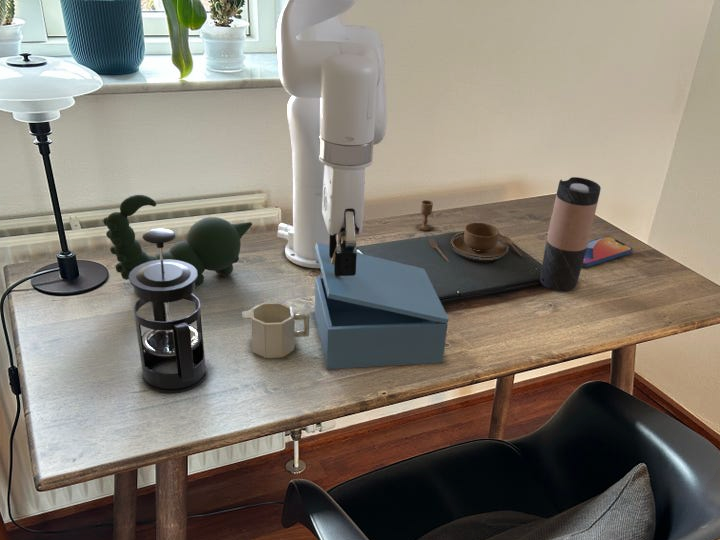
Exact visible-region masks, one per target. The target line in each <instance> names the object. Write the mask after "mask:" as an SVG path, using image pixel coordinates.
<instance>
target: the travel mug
mask: <svg viewBox="0 0 720 540" xmlns="http://www.w3.org/2000/svg"><path fill="white" fill-rule="evenodd" d="M601 189H602V188H601V185H600V184H598V183H597V182H595V181H594V180H591V179H588V178H584V177H577V176H571V177H570V178H569V179H567V180H563V179H560V180H559V181H558V186H557V190H556V195H555V200H554V204H553V209H552V214H551V217H550V223H549V227H548V232H547V236H546V241H545V246H544V252H543V258H542V263H541V270H540V276H539V281H540V284H541V285H542V286H544V287H545V288H547V289H549V290H552V291H556V292H570V291H572V290H574V289H576V287H577V284H578V281H579V278H580V275H581V271H582V268H583V267H582V264H583V260H584V257H585V253H586V250H587V246H588V242H589V241H590V237H591V233H592V230H593V229H592V228H593V224H594V221H595V215H596V211H597V206H598V203H599V199H600V194H601ZM541 274H542V276H543V278H544V281H543V280H542V278H541Z"/></svg>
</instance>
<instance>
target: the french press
mask: <svg viewBox="0 0 720 540" xmlns="http://www.w3.org/2000/svg"><path fill="white" fill-rule="evenodd" d="M176 235H177V234H176V233H175V232H174V231H173V230H171V229H169V228H152V229H150V230H147V231H145V232H144V233H143V234H142V236H141V237H142V239H143V240H144V241H145V242H147V243H149V244H155V245H156V248H157V249H158V250H159V252H158V253H160V260H154V261H150V262H146V263H143V264H141V265H139V266H137V267H135V268H134V269H133V270H132V271H131V272H130V274H129V279H128V281H129V283H130V285H132V287H133V292H134V294H135V295H136V296H137V297H138V299H136V301H135V302H134V304H133V316H134V322H135V328H136V329H135V330H136V335H137V343H138V350H139V357H140V362H141V363H140V364H141V369H142V371H141V380H142V382H143V384H144V385H145V387H147V389H150V390H152V391H154V392H158V393H162V394H180V393H184V392H188V391H191V390H193V389H195V388H197V387H199V386H200V385H201V384H202V383H204V381H205V380H206V379H207V377H208V366H207V365H206V356H205V345H204V334H203V324H202V323H203V322H202V309H201V301H200V299H199V298H198V296H196V295H195V294H194V292H195V290H196V286H195V281H196V279H197V276H198V274H197V270H196V268H195V267H194V266H192V265H191V264H189V263H186V262H183V261H179V260H170V259H164V260H163V254H162V252H163V248H164V247H165V243H169V242H172V241H173V240H175V238H176V237H177V236H176ZM182 300H186V301H188V302H191V303H192V304H194V312H192V313H191V314H189V315H188V316H185V317H182V318H180V319H175V320H171V315H170V306H169V304H170V303H175V302H179V301H182ZM148 303H151V307H152V314H153V320H151V319H147V318H145V317H143V316H141V315H140V314H138V311H139V310H140V308H142V307H143V306H144V305H146V304H148ZM195 322H196V327H194V326H192V324H193V323H195ZM141 326H142V327H143V328H146V329H147V330H145V332H144V333H143V334H142V327H141ZM169 361H176V362H175V363H176V370H177V372H171V373H170V372H167V373H166V372H160V371H156V370H154V369H155V368H156V367H158V366H159V365H160V364H162V363H166V362H169Z"/></svg>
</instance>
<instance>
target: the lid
mask: <svg viewBox="0 0 720 540" xmlns="http://www.w3.org/2000/svg"><path fill="white" fill-rule="evenodd" d="M335 238H336V242H337V234H336V237H335ZM344 240H345V236H341V243H342V241H344ZM315 249H316V253H317V257H318V261H319V265H320V268H319V269H320V272H321V276H322V277H323V281H324V285H325V289H326V293H327V297H328V298H330V299H335V300H339V301H344V302H349V303H353V304H358V305H362V306H367V307H372V308H376V309H381V310H386V311H390V312H395V313H400V314H404V315H409V316H414V317H418V318H423V319H428V320H432V321H437V322H441V323H446V324H448V323H449V321H450V318H449V317H448V314H447V312H446V310H445V308H444V306H443V303H442V302H441V300H440V298H439V296H438V294H437V292H436V290H435V288H434V286H433V283H432V282H431V280H430V278H429V276H428V273H427V272H426V270H425V268H423V267H419V266H414V265H410V264H406V263H402V262H397V261H394V260H389V259H385V258H381V257H377V256H373V255H369V254H364V253H361V252H357V258H356V274H355V275H354V276H335V274H334V262H335V251H337V245H336V248H335V251H334V254H333V257H332V258H330V256H329V246H328V245H324V244H320V243H316V245H315Z"/></svg>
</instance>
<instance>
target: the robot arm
mask: <svg viewBox="0 0 720 540" xmlns="http://www.w3.org/2000/svg"><path fill="white" fill-rule="evenodd" d="M357 1H358V0H287V1H286V3H285V4H284V6H283V8H282V10H281V12H280V15H279V18H278V22H277V28H276V48H277V50H276V51H277V61H278V62H277V63H278V74H279V78H280V82H281V86H282V88H283V89H284V91H285V92H286V93H287V94H288V95H290V98H289V100H288V102H287V108H286V109H287V110H286V111H287V112H286V113H287V114H286V115H287V122H288V129H289V136H290V143H291V155H292V225H290V224H287V223H283V222H280V223H279V224H278V226H277V233H276V237H277V238H280V239H285V240H286V241H287V244H285V247H284V253H285V257H286V259H288V260H289V261H290V262H291V263H293V264H295V265H296V266H300V267H303V268H309V269H320V265H319V261H318V257H317V253H316V249H315V245H316V243H320V244H324V245H328V246H329V256H330V258H332V257H333V254H334V251H335V248H336V245H337V251H335V262H334V274H335V276H354V275H355V274H356V258H357V253H358V250H357V236H358V235H360V234H361V233H362V232H363V229H364V228H363V227H364V216H365V215H364V214H365V186H366V168H368V167H370V166H371V165H372V164H373V161H374V146H375V145H379V144H380V143H381V142H382V141H383V140H384V138H385V136H386V132H387V124H388V122H387V121H388V118H387V117H388V116H387V115H388V114H387V113H388V112H387V94H386V93H387V90H386V67H385V63H386V62H385V53H384V52H385V51H384V45H383V40H382V38H381V36H380V33H378V31H377V30H376V29H374V28H373V27H370V26H366V25H356V24H355V25H354V24H351V25H350V24H343V23H342V22H341V15H342V14H344V13H346V12H347V11H348V10H350V9H351V8H352V7H353V6H354V5H355V4H356V2H357ZM336 234H337V242H336V238H335V237H336ZM341 236H345V240H344V241H342V243H341Z"/></svg>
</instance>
